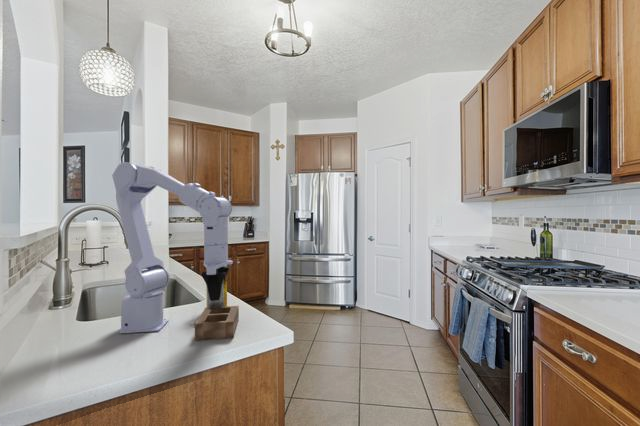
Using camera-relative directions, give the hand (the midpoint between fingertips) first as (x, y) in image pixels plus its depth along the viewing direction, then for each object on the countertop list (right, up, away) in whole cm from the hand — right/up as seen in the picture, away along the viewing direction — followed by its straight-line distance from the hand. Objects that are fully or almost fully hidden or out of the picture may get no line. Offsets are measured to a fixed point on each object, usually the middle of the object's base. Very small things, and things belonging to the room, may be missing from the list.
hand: (216, 297), depth 78 cm
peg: (0, -3, 0) cm, 3 cm away
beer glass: (-6, -9, +18) cm, 21 cm away
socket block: (0, -9, +3) cm, 10 cm away
